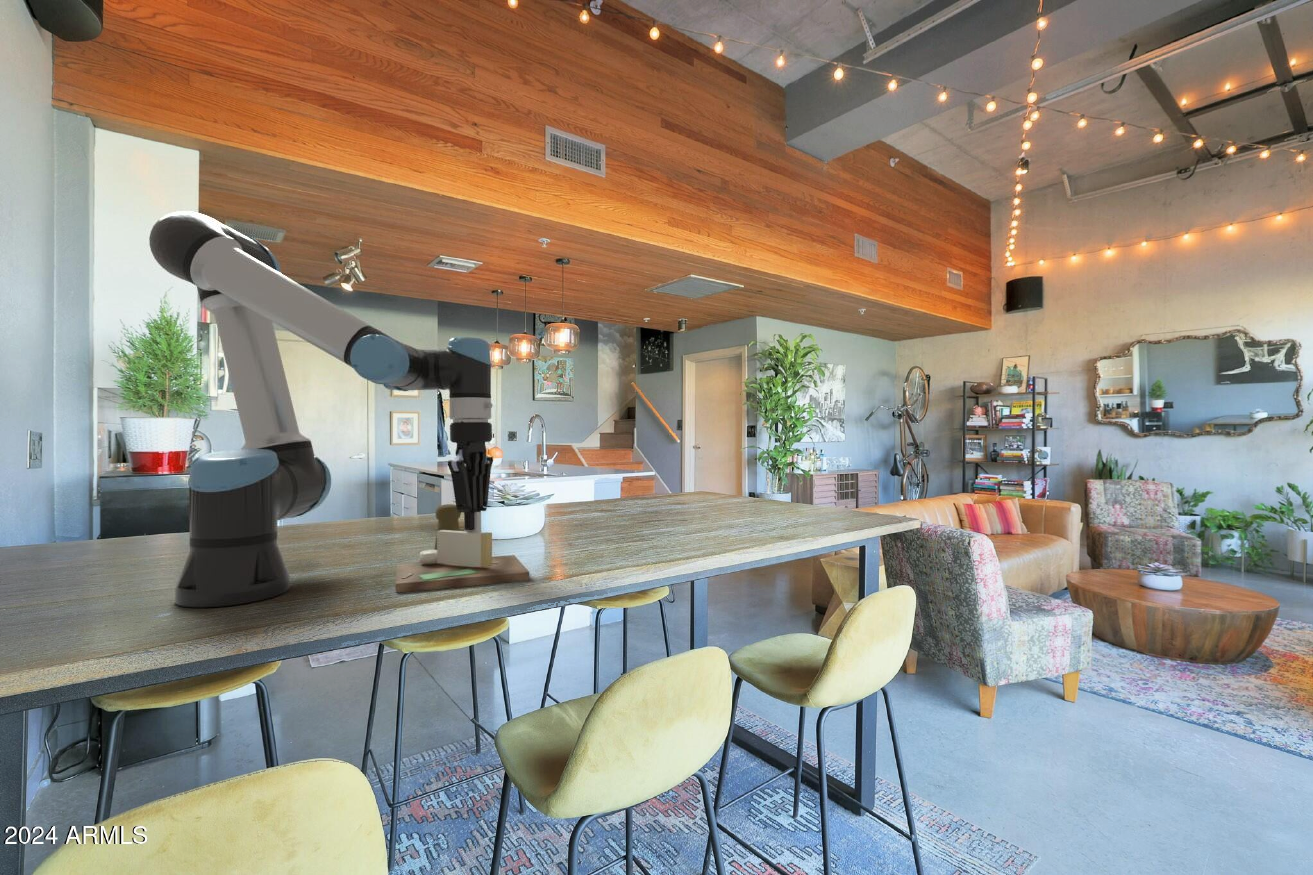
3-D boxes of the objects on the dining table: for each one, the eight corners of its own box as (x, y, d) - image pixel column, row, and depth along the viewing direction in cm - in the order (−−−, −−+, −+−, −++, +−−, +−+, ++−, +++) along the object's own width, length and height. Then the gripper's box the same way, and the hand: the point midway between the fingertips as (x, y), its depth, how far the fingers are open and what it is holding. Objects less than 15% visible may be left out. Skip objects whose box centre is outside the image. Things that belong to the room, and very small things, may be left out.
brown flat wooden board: (395, 592, 97) (395, 582, 97) (396, 571, 112) (397, 563, 112) (529, 580, 106) (529, 571, 106) (514, 562, 121) (514, 554, 121)
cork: (453, 558, 124) (453, 506, 124) (427, 557, 125) (427, 505, 125) (468, 553, 130) (468, 503, 130) (443, 551, 131) (443, 502, 131)
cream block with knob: (415, 562, 111) (415, 530, 111) (429, 558, 114) (430, 527, 114) (482, 569, 106) (482, 535, 106) (495, 564, 110) (495, 531, 110)
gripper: (471, 420, 103) (474, 554, 104) (505, 421, 116) (507, 540, 116) (433, 421, 105) (435, 553, 105) (470, 421, 117) (472, 539, 118)
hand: (473, 546), depth 111 cm, fingers closed
